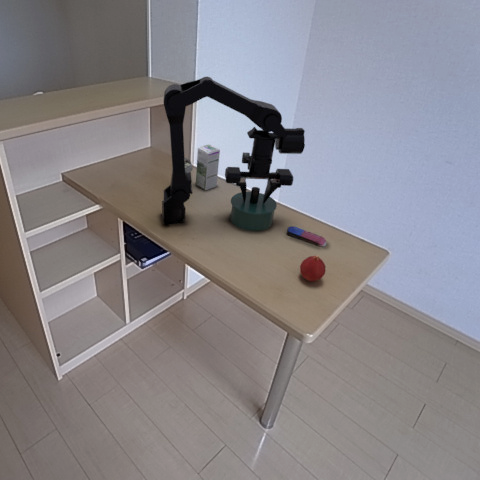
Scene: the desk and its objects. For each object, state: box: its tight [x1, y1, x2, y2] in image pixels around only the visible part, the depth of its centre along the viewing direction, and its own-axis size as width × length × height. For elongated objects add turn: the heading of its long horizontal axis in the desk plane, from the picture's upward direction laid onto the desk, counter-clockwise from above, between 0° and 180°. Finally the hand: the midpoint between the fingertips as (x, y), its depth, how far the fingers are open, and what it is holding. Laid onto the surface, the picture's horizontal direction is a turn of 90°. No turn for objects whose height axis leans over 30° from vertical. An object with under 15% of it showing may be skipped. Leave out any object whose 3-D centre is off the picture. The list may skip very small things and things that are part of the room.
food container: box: [171, 157, 193, 173], centre depth 130 cm, size 12×6×10 cm, turn 168°
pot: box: [229, 205, 276, 232], centre depth 114 cm, size 13×13×6 cm
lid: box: [230, 186, 278, 215], centre depth 111 cm, size 14×14×6 cm
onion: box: [299, 255, 326, 282], centre depth 91 cm, size 6×6×8 cm
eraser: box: [286, 225, 327, 248], centre depth 107 cm, size 11×4×2 cm, turn 53°
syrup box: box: [195, 144, 221, 191], centre depth 131 cm, size 6×6×14 cm
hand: (253, 201), depth 112 cm, fingers open, 5 cm apart
